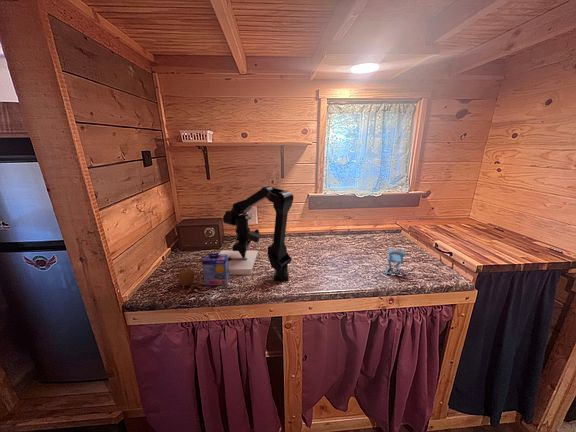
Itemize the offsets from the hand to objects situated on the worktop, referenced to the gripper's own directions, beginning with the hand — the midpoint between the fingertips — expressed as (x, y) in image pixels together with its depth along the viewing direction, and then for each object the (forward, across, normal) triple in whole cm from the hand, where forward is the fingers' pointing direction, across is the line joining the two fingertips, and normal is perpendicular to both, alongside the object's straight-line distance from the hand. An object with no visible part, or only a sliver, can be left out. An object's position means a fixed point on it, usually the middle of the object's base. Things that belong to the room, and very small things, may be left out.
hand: (244, 256), depth 115 cm
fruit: (+4, -19, +21) cm, 28 cm away
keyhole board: (+4, 0, +5) cm, 6 cm away
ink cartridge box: (+4, -16, +9) cm, 19 cm away
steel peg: (+4, 0, 0) cm, 4 cm away
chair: (+5, -6, -72) cm, 73 cm away
